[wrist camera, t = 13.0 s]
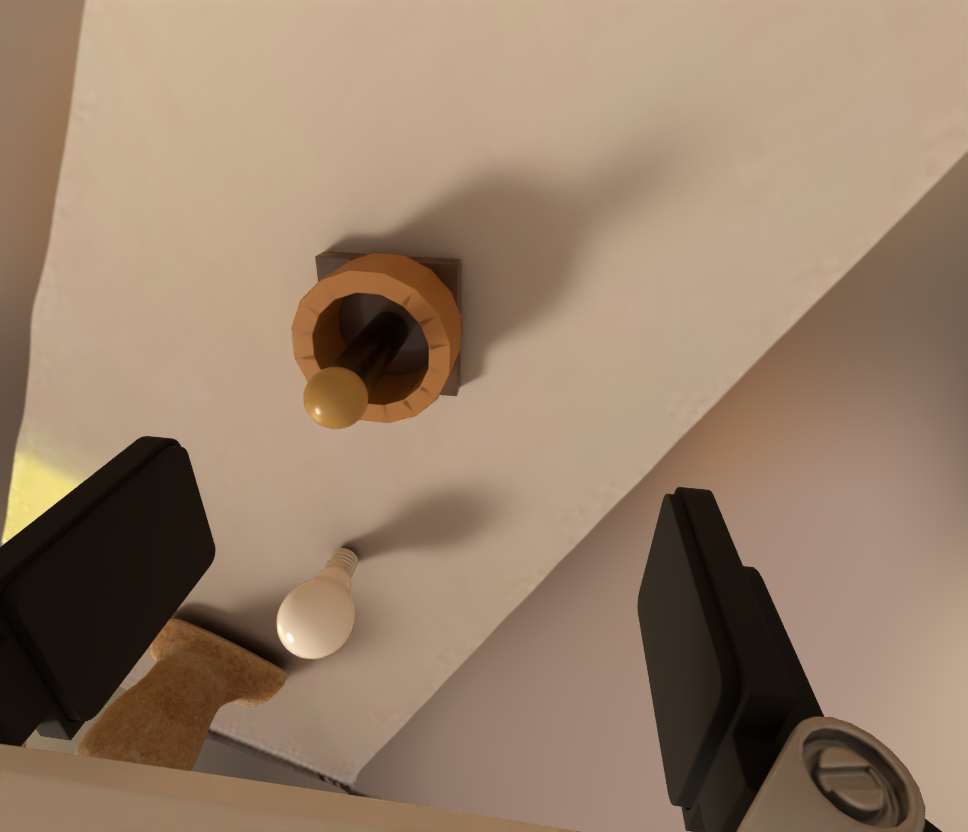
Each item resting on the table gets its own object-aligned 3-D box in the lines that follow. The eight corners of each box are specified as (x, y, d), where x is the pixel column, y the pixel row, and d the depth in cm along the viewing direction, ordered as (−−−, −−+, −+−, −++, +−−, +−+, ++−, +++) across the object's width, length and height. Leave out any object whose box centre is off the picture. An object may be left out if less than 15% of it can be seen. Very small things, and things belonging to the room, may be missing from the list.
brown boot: (144, 652, 63) (38, 789, 50) (173, 597, 58) (64, 734, 45) (259, 706, 66) (188, 849, 53) (297, 659, 61) (228, 805, 48)
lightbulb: (368, 526, 50) (325, 620, 41) (386, 576, 53) (350, 675, 44) (306, 531, 51) (250, 624, 42) (327, 579, 54) (279, 676, 45)
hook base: (323, 251, 38) (315, 256, 37) (461, 259, 38) (457, 264, 36) (337, 378, 43) (330, 386, 42) (459, 387, 42) (456, 396, 41)
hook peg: (365, 305, 38) (288, 380, 27) (411, 308, 38) (354, 385, 27) (368, 350, 40) (297, 437, 29) (413, 353, 40) (359, 443, 28)
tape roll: (314, 247, 37) (283, 263, 32) (464, 260, 36) (453, 278, 32) (326, 383, 42) (300, 413, 37) (458, 397, 41) (447, 429, 37)
